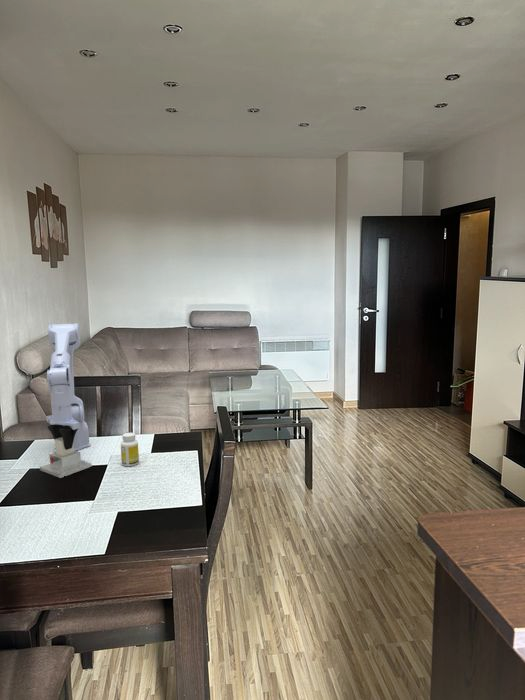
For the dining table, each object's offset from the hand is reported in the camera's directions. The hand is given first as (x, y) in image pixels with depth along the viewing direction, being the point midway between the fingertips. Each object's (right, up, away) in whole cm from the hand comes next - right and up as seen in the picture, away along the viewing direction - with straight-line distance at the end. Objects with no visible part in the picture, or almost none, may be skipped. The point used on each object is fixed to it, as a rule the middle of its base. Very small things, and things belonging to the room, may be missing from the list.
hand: (64, 447), depth 155 cm
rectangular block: (0, -6, +1) cm, 6 cm away
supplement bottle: (+20, -6, +4) cm, 21 cm away
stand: (0, -7, +1) cm, 7 cm away
